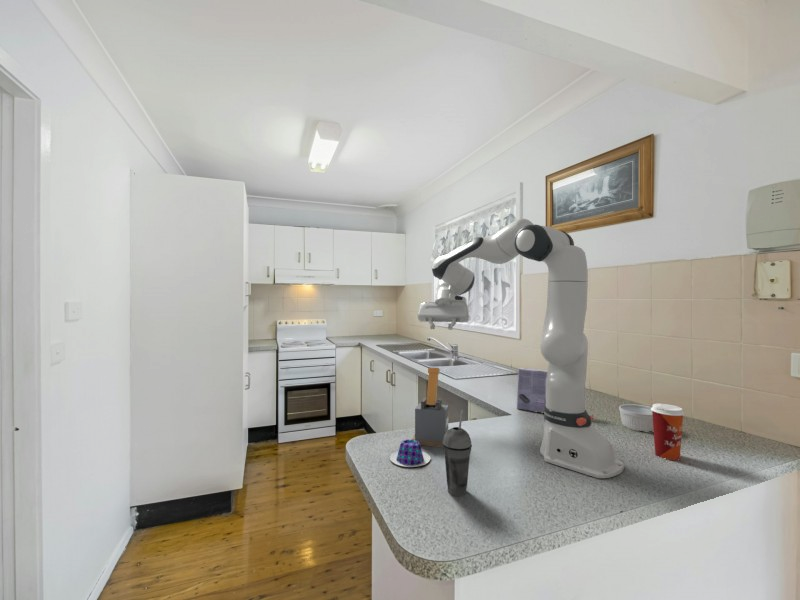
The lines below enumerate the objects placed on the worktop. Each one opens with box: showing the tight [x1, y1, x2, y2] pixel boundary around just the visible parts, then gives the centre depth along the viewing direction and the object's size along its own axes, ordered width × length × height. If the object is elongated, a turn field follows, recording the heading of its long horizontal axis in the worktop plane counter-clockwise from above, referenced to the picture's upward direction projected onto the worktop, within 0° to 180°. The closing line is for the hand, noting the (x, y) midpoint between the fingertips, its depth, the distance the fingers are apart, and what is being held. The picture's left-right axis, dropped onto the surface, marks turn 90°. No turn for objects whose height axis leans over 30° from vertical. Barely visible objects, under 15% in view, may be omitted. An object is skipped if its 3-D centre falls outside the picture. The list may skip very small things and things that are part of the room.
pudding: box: [389, 438, 431, 468], centre depth 107 cm, size 12×12×5 cm
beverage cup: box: [442, 409, 473, 497], centre depth 89 cm, size 7×7×20 cm
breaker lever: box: [426, 367, 441, 408], centre depth 122 cm, size 2×4×13 cm, turn 74°
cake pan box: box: [516, 367, 548, 414], centre depth 153 cm, size 19×5×18 cm, turn 58°
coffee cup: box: [651, 403, 685, 461], centre depth 109 cm, size 8×8×15 cm
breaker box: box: [411, 397, 450, 448], centre depth 121 cm, size 8×12×14 cm, turn 74°
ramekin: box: [618, 403, 653, 432], centre depth 134 cm, size 13×13×7 cm
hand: (441, 328), depth 139 cm, fingers open, 5 cm apart
